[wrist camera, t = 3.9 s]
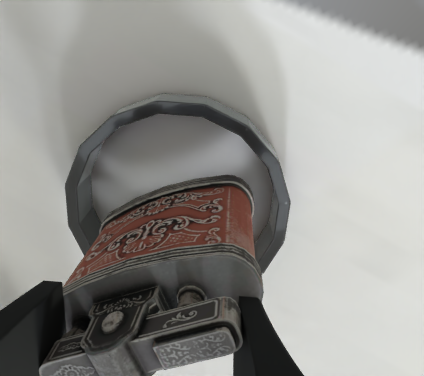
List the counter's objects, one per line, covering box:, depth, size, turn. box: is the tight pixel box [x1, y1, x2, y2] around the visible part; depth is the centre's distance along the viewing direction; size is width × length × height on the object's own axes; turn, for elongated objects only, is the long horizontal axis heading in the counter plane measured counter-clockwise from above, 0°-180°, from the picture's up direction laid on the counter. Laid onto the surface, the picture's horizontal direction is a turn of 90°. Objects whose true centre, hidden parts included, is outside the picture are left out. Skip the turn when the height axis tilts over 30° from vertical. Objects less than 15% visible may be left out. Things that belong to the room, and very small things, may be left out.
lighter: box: [39, 175, 264, 376], centre depth 15 cm, size 8×3×10 cm, turn 110°
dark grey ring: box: [65, 93, 290, 275], centre depth 21 cm, size 11×11×2 cm
